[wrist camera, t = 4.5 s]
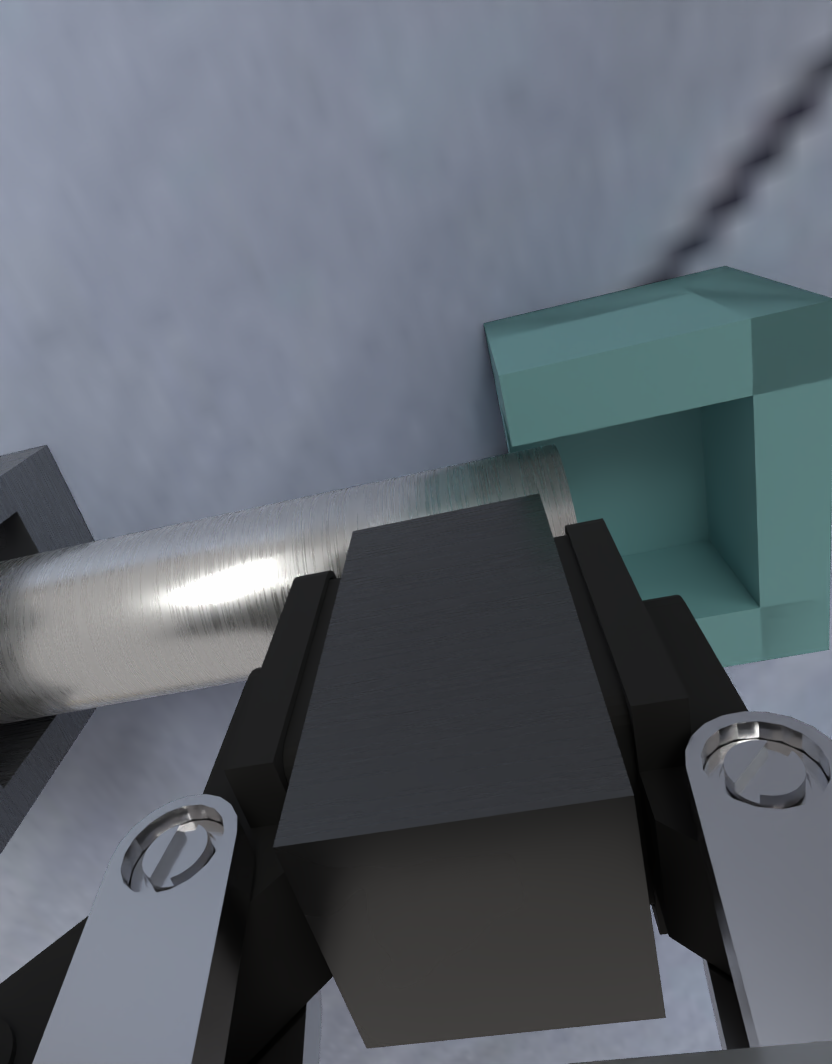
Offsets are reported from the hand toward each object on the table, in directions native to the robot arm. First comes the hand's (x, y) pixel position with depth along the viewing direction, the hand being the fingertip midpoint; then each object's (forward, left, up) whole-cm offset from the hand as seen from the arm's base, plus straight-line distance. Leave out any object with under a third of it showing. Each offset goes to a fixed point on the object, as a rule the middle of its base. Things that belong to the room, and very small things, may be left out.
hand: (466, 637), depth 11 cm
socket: (-4, 0, -7) cm, 8 cm away
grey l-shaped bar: (+7, 0, -4) cm, 8 cm away
